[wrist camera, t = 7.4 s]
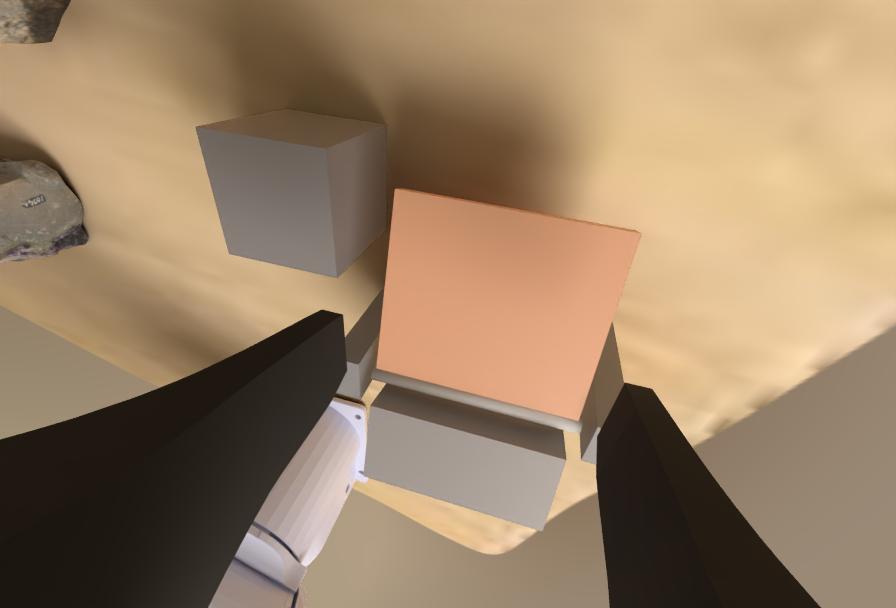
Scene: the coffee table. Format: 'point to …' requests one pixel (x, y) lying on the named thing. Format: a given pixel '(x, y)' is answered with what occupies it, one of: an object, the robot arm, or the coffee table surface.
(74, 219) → the mineral rock
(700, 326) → the coffee table surface
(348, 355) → the frame
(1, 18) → the stone block
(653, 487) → the robot arm
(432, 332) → the trapdoor
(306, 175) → the gray cube
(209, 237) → the coffee table surface
